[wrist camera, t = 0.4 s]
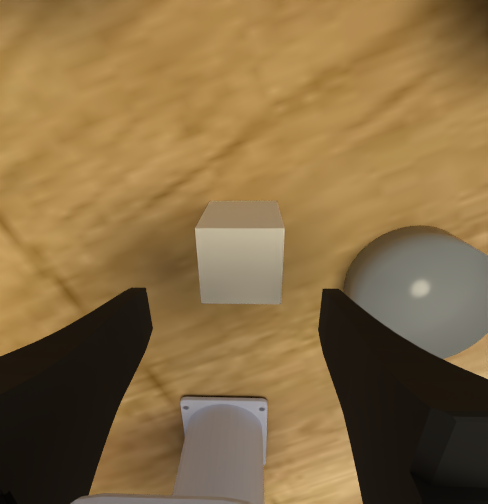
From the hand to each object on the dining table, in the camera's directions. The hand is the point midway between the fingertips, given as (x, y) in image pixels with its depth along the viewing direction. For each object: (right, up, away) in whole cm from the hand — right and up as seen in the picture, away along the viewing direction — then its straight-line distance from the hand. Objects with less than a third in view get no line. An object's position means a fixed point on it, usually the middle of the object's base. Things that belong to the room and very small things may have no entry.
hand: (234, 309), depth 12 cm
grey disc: (+12, 0, +10) cm, 16 cm away
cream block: (0, +4, +9) cm, 9 cm away
